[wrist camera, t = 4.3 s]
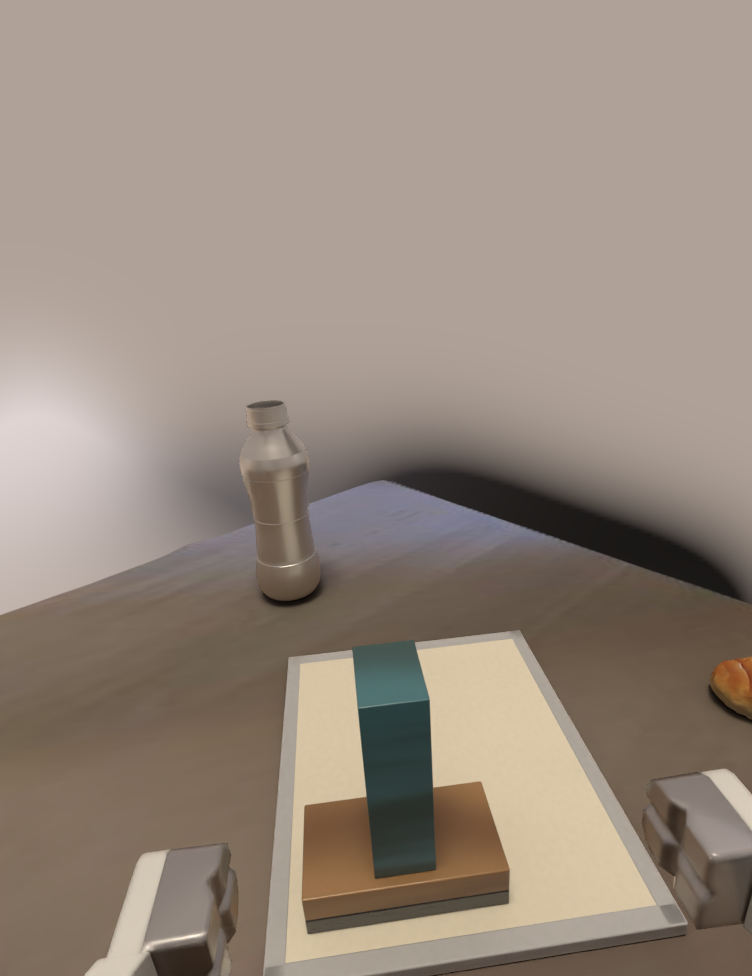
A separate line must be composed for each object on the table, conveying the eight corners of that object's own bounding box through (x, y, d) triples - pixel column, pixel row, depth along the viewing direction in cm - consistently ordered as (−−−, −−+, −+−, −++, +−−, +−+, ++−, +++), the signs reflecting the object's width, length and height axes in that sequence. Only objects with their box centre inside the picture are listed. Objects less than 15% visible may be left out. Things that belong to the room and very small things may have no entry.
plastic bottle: (269, 576, 60) (240, 398, 53) (329, 575, 59) (308, 395, 52) (251, 609, 54) (216, 414, 47) (317, 609, 53) (292, 411, 46)
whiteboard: (686, 935, 26) (689, 923, 25) (264, 1002, 24) (261, 992, 24) (519, 638, 47) (519, 629, 47) (290, 665, 46) (288, 657, 45)
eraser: (509, 904, 27) (517, 697, 22) (307, 935, 26) (270, 728, 21) (481, 811, 31) (482, 625, 26) (309, 835, 31) (279, 648, 26)
